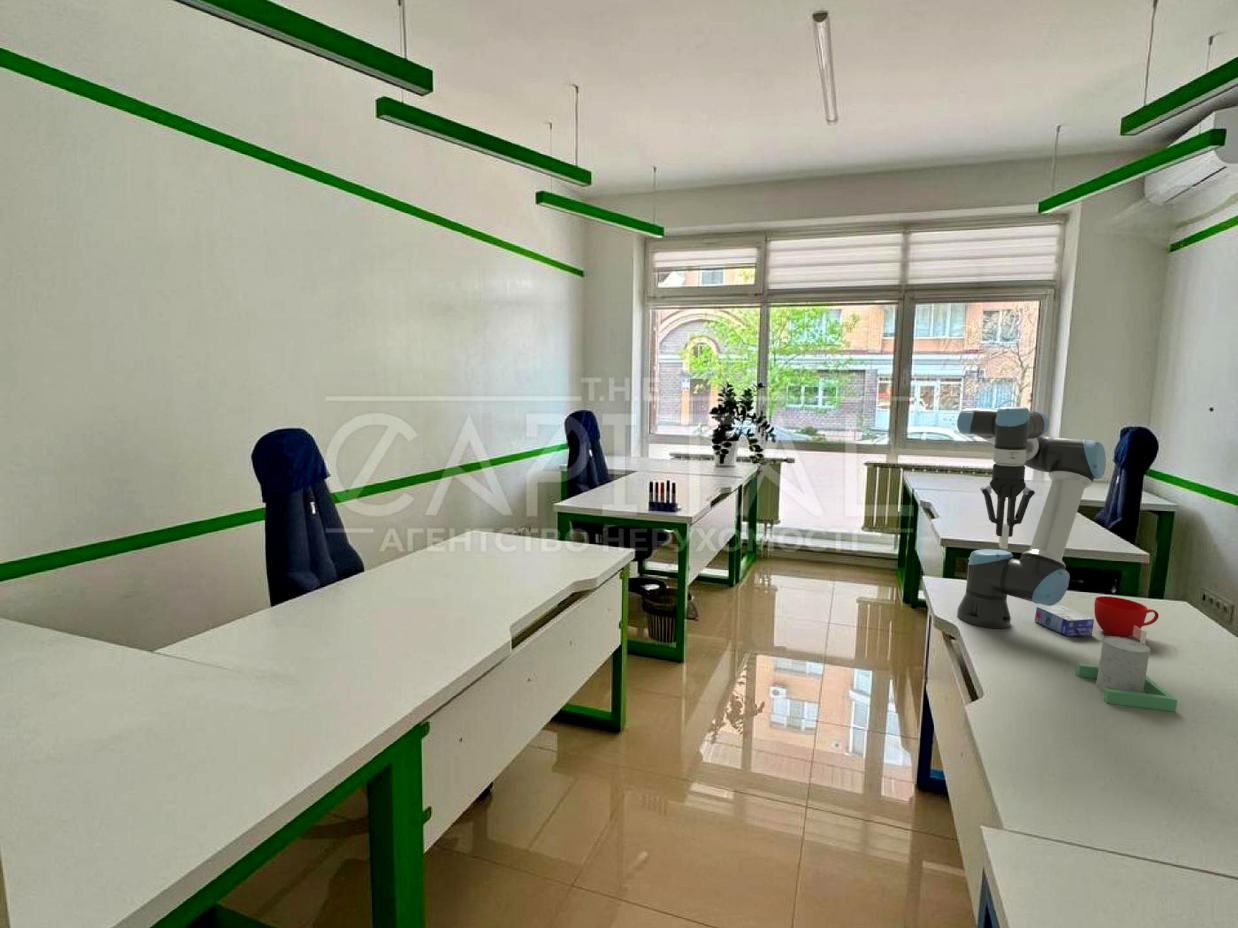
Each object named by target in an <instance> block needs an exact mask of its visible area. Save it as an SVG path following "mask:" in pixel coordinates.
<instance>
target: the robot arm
mask: <svg viewBox="0 0 1238 928" xmlns="http://www.w3.org/2000/svg"><path fill="white" fill-rule="evenodd" d="M956 425H957V430H958V431H959V432H960V433H962V434H967V435H974V436H975V435H976V436H978V437H979V438H981V439H983V440H985V441H987V442H988V443H990V444H992V445H994V447H993V448H994V449H993V450H994V451H993V462H994V463H993V465H992V476H991V480H990V481H989V485H987V486H984V487H981V488H980V492H981V493H982V495H983V497H984V501H985V506H986V510H987V511H986V512H987V516H988V520H989V521H990V522H991V523H993V524H995V525H996V526H995V535H996V536H997V537H999V540H998V547H999V549H989V548H988V549H987V548H986V549H984V548H983V549H977V550H973V551H972V552H971V553H970V555H969V561H968V563H967V565H968V566H967V567H968V568H967V577H966V587H965V593H964V595H963V597H962V599H961V602H960V604H959V605H958V607H957V612H956V613H957V614H956V615H957V618H958V619H960V620H962V621H964V622H966V623H968V624H971V625H974V626H979V627H983V628H988V629H1006V628H1009V627H1010V626H1011V621H1012V617H1011V613H1010V609H1009V606H1008V596H1010V597H1012V598H1013V597H1014V598H1017V599H1020V600H1025V601H1028V602H1031V603H1034V604H1037V605H1038V604H1039V605H1043V606H1056V605H1058V603H1059V602H1060V601H1061V600H1062V599H1063V597H1064V596H1065V595H1066V592H1067V590H1068V588H1069V584H1070V583H1069V582H1070V573H1069V571H1067V569H1066V564H1065V562H1064V561H1063V556H1064V554H1065V551H1066V547H1067V544H1068V541H1069V537H1070V535H1071V532H1072V529H1073V525H1074V522H1075V520H1076V519H1075V518H1076V517H1077V512H1078V510H1079V507H1080V503H1081V501H1082V498H1083V494H1084V491H1085V489H1087V488H1089V487H1091V486H1093V484H1094V483H1093V482H1094V480H1099V479H1102V478H1103V476H1105V475H1104V474H1105V472H1106V465H1107V464H1106V463H1107V458H1106V451H1105V447H1104V446H1103V443H1101V442H1100V441H1096V440H1089V439H1086V438H1084V439H1083V438H1070V437H1058V436H1057V437H1056V436H1047V435H1046V436H1045V435H1044V434H1046V432H1047V431H1048V430H1049V427H1050V421H1049V418H1048V417H1047V416H1046V415H1045V414H1044V413H1043V412H1040V411H1037V410H1033V411H1032V410H1030V409H1029V408H1027V407H1025V406H1002V407H999V408H998V409H997V410H996V409H984V408H983V409H981V408H976V407H975V408H964V409H962V410H961V411H960V412H959V414H958V416H957V420H956ZM1026 467H1027V468H1028V469H1029V468H1030V469H1032V470H1036V471H1040V472H1043V473H1048V477H1049V479H1050V480H1051V484H1050V487H1049V490H1048V493H1047V495H1046V498H1045V502H1044V505H1043V508H1042V510H1041V515H1040V517H1039V520H1038V523H1037V526H1036V529H1035V533H1034V535H1033V538H1032V541H1031V544H1030V548H1029V549H1028V550H1027V551H1024V552H1022V553H1021V556H1020V559H1017V558H1013V557H1014V555H1013V553H1012V552H1011V551H1009V550H1008V548H1009V547H1008V546H1009V538H1011V537H1013V536H1014V534H1013V533H1014V527H1015V526H1016V525H1021V524H1022V522H1023V519H1024V517H1025V514H1026V511H1027V508H1028V505H1029V502H1030V501H1031V498H1033V496H1034V495H1035V493H1036V492H1035V490H1034V489H1032V488H1029V487H1027V484H1026V481H1025V476H1026V475H1025V474H1026V473H1025V472H1026ZM992 492H994V494H996V496H997V497H996V499H997V505H996V513H995V509H994V505H993V499H992V496H991V494H992ZM1021 493H1022V494H1023V495H1022V497H1021V499H1020V502H1019V504H1018V507H1017V511H1016V503H1017V497H1018V496H1019V495H1020V494H1021ZM1006 498H1007V499H1006ZM1006 500H1007V511H1006V523H1004V517H1005V507H1006V506H1005V505H1006Z"/></svg>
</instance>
